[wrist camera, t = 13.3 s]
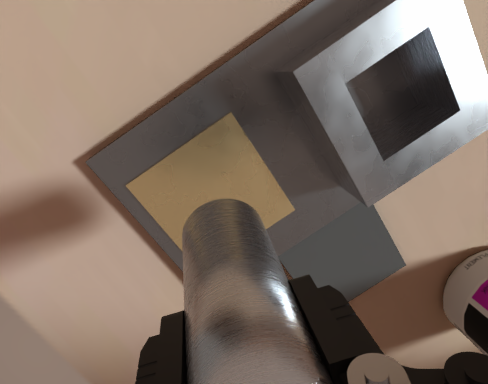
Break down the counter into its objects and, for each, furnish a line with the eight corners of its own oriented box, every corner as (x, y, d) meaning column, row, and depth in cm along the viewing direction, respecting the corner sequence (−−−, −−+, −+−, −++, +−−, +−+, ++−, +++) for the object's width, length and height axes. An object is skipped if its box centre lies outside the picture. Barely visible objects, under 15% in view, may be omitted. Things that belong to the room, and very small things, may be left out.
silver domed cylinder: (260, 190, 14) (496, 650, 4) (268, 260, 16) (445, 714, 6) (172, 206, 14) (164, 768, 3) (189, 276, 16) (219, 799, 5)
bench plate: (481, 114, 25) (548, 124, 20) (208, 293, 26) (212, 341, 22) (415, -72, 20) (483, -115, 16) (89, 158, 22) (62, 182, 17)
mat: (401, 261, 28) (406, 265, 28) (319, 313, 29) (322, 318, 28) (360, 186, 25) (364, 188, 25) (270, 245, 26) (272, 249, 25)
